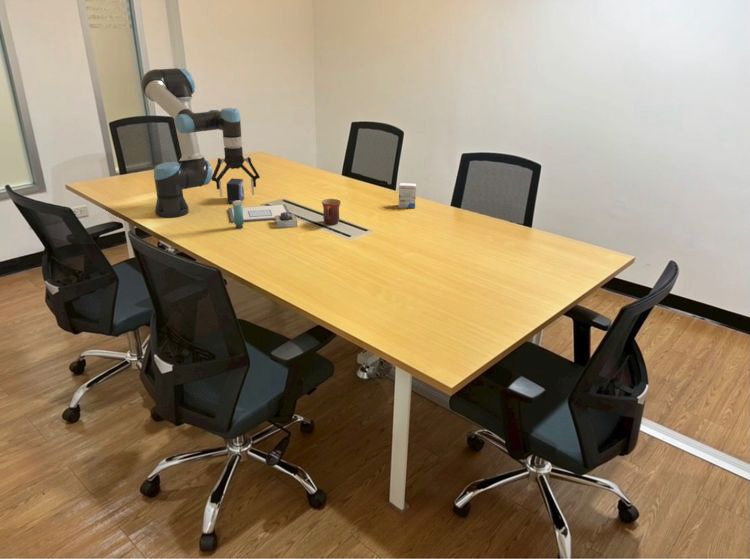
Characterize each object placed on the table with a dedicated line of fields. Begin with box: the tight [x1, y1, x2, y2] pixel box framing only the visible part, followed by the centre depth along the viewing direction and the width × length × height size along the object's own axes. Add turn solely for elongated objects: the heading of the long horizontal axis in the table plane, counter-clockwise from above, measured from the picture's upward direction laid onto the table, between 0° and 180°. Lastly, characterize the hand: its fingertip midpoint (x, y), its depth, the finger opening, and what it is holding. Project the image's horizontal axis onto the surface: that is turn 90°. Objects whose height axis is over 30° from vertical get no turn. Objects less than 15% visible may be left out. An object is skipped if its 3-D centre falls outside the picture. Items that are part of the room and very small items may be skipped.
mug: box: [321, 198, 342, 226], centre depth 261 cm, size 12×9×10 cm
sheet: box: [227, 204, 291, 224], centre depth 273 cm, size 28×20×1 cm
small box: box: [225, 178, 245, 205], centre depth 289 cm, size 11×6×10 cm, turn 179°
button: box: [281, 212, 291, 220], centre depth 259 cm, size 4×4×3 cm
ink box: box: [397, 182, 417, 209], centre depth 287 cm, size 9×5×12 cm, turn 84°
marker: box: [232, 200, 245, 230], centre depth 252 cm, size 4×4×12 cm
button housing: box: [274, 213, 298, 229], centre depth 260 cm, size 9×9×3 cm
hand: (237, 195), depth 248 cm, fingers open, 13 cm apart
